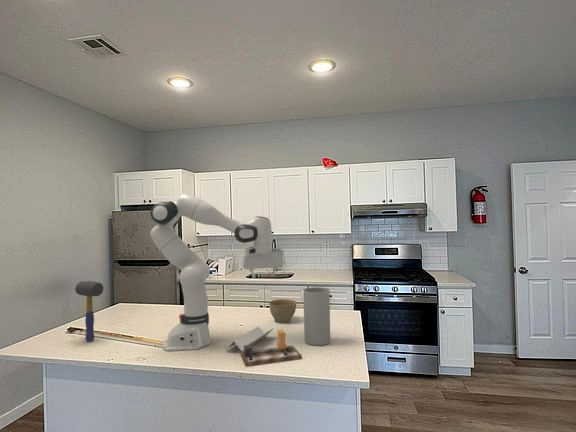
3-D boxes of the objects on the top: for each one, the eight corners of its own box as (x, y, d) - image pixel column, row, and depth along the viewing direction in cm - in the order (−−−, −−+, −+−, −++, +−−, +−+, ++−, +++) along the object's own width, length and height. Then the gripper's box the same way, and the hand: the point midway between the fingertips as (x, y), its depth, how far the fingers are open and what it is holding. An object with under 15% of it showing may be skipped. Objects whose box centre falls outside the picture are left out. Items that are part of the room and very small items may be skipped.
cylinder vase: (303, 345, 161) (302, 292, 161) (305, 336, 173) (305, 287, 174) (329, 346, 159) (328, 292, 159) (330, 337, 171) (329, 287, 172)
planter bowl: (287, 326, 191) (287, 306, 191) (263, 322, 199) (263, 303, 199) (301, 319, 204) (301, 300, 205) (279, 315, 213) (278, 298, 213)
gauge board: (245, 366, 139) (245, 354, 139) (240, 355, 150) (240, 344, 150) (301, 358, 146) (301, 346, 146) (293, 348, 157) (292, 337, 157)
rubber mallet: (74, 342, 171) (73, 281, 172) (87, 337, 178) (87, 279, 179) (92, 345, 167) (91, 283, 167) (105, 340, 174) (104, 280, 174)
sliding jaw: (282, 355, 145) (282, 336, 145) (277, 347, 153) (277, 330, 153) (289, 354, 145) (289, 336, 146) (283, 346, 154) (283, 329, 154)
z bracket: (233, 360, 153) (225, 349, 155) (258, 343, 176) (250, 334, 178) (251, 342, 150) (242, 331, 152) (273, 328, 174) (265, 318, 175)
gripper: (281, 247, 175) (281, 275, 175) (241, 249, 169) (242, 277, 169) (284, 248, 169) (285, 276, 169) (243, 250, 163) (244, 279, 163)
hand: (263, 277), depth 169 cm, fingers open, 8 cm apart
